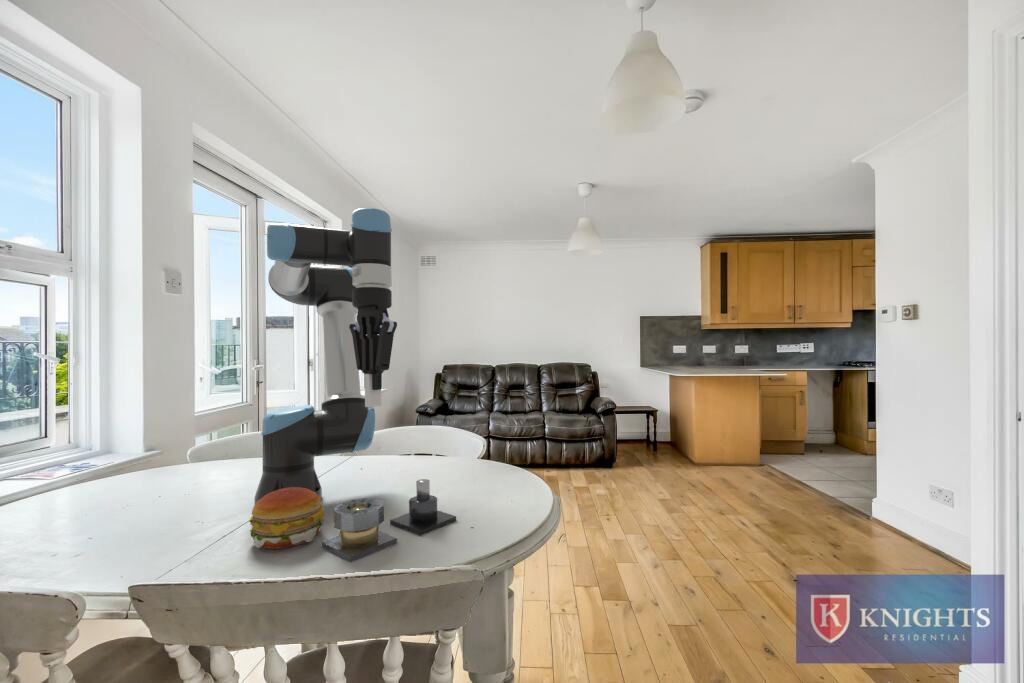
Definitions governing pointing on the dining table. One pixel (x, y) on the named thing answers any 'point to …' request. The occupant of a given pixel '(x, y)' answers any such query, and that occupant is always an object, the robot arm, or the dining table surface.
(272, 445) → the robot arm
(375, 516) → the grey faceted ring
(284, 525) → the burger
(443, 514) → the stand
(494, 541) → the dining table surface
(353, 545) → the hub
